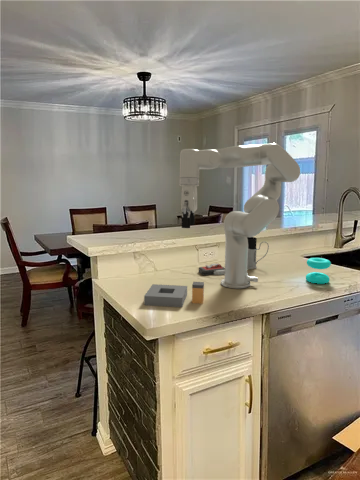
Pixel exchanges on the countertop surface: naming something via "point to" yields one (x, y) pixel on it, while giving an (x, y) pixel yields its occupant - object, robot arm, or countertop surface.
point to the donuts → (317, 276)
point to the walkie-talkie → (212, 270)
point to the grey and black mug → (253, 252)
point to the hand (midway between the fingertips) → (188, 226)
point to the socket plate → (166, 295)
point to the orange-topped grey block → (197, 292)
